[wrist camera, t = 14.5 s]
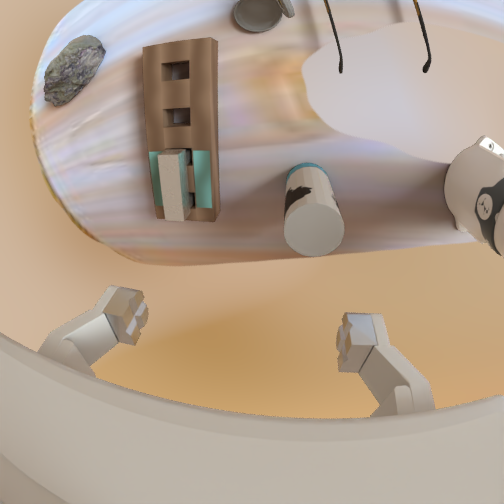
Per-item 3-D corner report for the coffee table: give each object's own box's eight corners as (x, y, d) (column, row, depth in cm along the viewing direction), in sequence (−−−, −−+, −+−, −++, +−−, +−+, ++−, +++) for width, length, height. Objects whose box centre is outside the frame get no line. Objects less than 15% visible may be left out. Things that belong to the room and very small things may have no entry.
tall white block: (196, 141, 40) (178, 154, 34) (199, 199, 46) (184, 221, 39) (178, 141, 41) (157, 155, 34) (183, 198, 46) (165, 220, 40)
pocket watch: (226, 20, 29) (207, 4, 21) (257, -20, 24) (248, -46, 16) (275, 45, 31) (270, 33, 22) (307, 5, 26) (312, -17, 18)
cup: (277, 186, 43) (271, 235, 31) (304, 154, 39) (311, 190, 27) (310, 210, 45) (316, 266, 32) (337, 181, 41) (357, 228, 29)
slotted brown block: (217, 41, 31) (210, 37, 27) (220, 210, 47) (214, 222, 43) (154, 49, 32) (141, 47, 28) (165, 208, 48) (156, 219, 44)
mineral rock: (62, 106, 37) (25, 118, 29) (54, 59, 32) (16, 65, 23) (113, 82, 35) (74, 88, 27) (104, 29, 29) (65, 26, 21)
